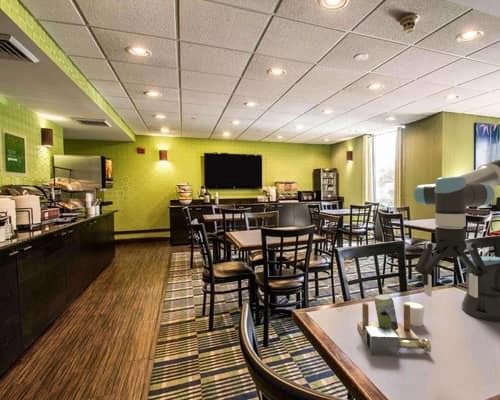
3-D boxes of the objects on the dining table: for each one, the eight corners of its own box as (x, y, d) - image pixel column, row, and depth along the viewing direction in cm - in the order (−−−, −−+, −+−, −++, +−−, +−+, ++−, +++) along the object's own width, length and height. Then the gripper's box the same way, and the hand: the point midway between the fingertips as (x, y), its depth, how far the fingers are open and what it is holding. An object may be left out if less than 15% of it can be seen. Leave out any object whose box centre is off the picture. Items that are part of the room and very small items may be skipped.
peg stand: (405, 328, 98) (404, 299, 97) (418, 344, 88) (418, 311, 87) (357, 326, 100) (357, 298, 99) (365, 341, 90) (365, 310, 89)
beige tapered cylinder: (423, 320, 103) (423, 302, 103) (426, 328, 97) (426, 309, 97) (403, 317, 106) (402, 300, 106) (405, 325, 100) (404, 306, 100)
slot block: (390, 345, 87) (390, 327, 87) (398, 356, 81) (398, 337, 81) (365, 344, 88) (365, 326, 88) (371, 355, 82) (371, 336, 82)
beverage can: (400, 334, 90) (400, 300, 89) (377, 333, 91) (377, 299, 91) (394, 325, 96) (394, 293, 96) (372, 324, 97) (372, 292, 97)
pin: (424, 347, 85) (424, 336, 85) (431, 354, 81) (431, 343, 81) (390, 346, 86) (390, 335, 86) (395, 352, 83) (395, 341, 82)
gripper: (484, 224, 83) (484, 291, 84) (402, 225, 87) (403, 289, 87) (504, 228, 76) (504, 301, 77) (413, 229, 79) (414, 299, 80)
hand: (450, 295), depth 82 cm, fingers open, 12 cm apart
